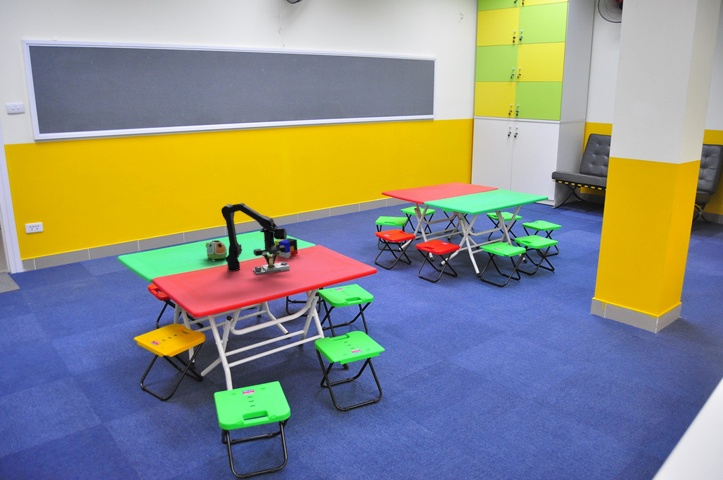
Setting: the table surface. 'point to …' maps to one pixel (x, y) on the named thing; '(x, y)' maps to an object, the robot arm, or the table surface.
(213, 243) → the turtle holder
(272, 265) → the brass pin
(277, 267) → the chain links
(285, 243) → the puzzle toy
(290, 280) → the table surface
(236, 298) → the table surface
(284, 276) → the table surface
